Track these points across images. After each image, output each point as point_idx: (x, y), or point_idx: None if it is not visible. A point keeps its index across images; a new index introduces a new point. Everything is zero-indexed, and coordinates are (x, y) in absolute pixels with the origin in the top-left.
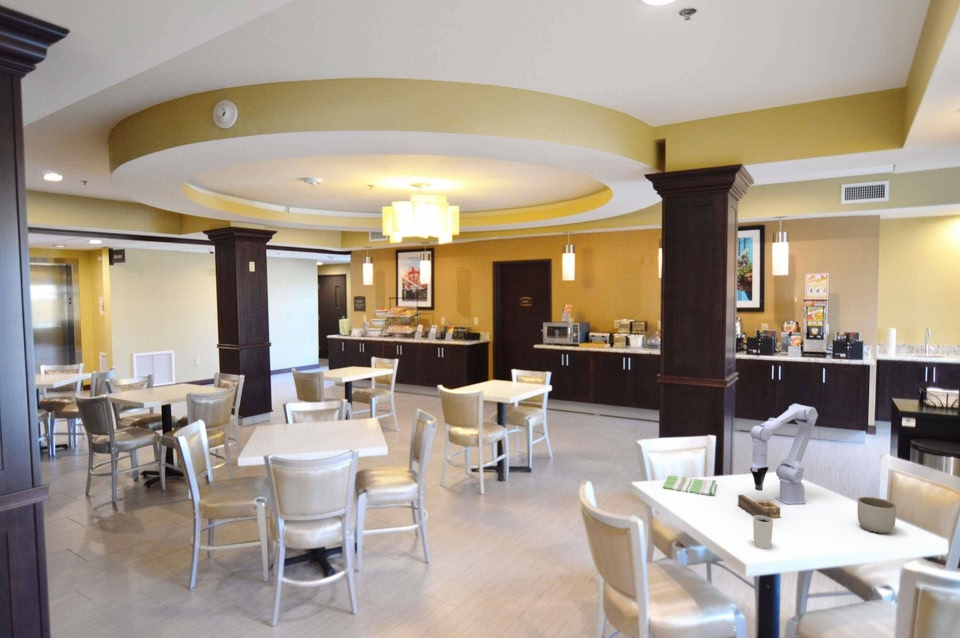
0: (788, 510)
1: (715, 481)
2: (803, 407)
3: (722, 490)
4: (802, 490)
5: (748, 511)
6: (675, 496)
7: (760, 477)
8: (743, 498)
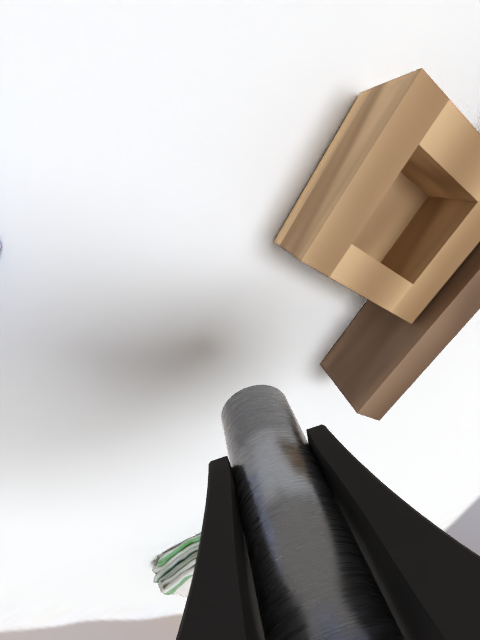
0: (120, 140)
1: (176, 584)
2: None
3: (186, 520)
4: None
5: None
6: None
7: (433, 529)
8: (420, 370)
